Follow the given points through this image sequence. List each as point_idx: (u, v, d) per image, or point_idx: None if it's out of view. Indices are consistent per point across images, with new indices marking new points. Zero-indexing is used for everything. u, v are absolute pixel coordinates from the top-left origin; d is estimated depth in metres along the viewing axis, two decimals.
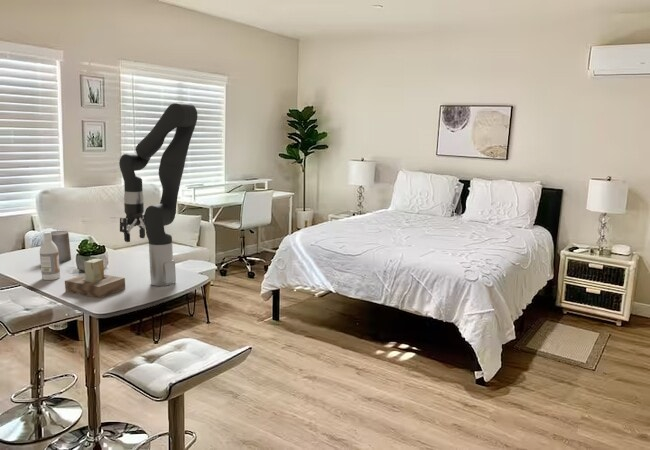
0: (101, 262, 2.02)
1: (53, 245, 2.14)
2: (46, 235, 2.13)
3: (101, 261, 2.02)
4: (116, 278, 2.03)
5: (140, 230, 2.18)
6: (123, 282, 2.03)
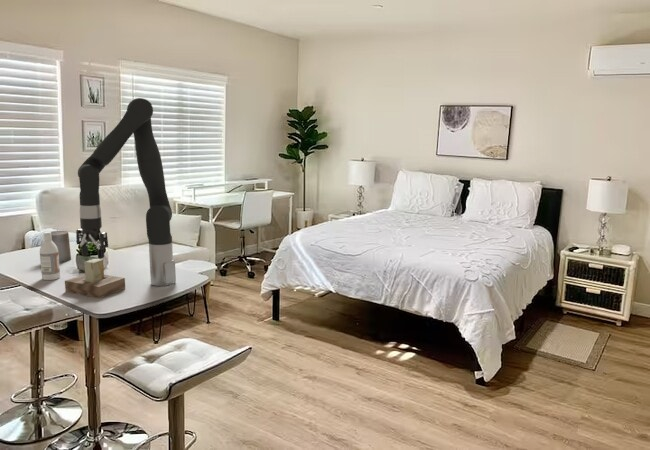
0: (101, 262, 2.02)
1: (53, 245, 2.14)
2: (46, 235, 2.13)
3: (101, 261, 2.02)
4: (116, 278, 2.03)
5: (83, 247, 2.01)
6: (123, 282, 2.03)
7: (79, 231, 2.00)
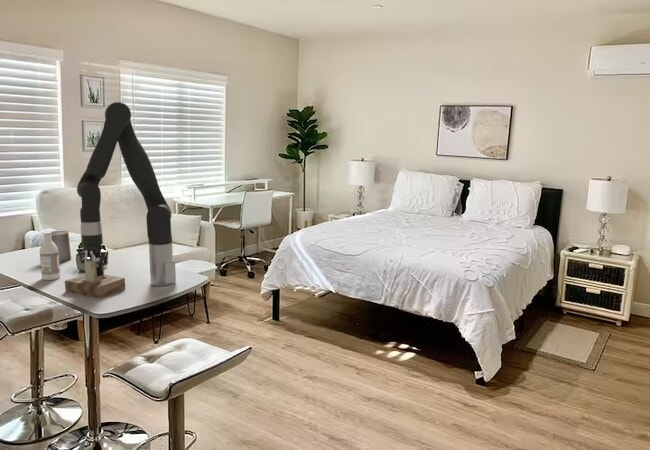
0: None
1: (53, 245, 2.14)
2: (46, 235, 2.13)
3: None
4: (116, 278, 2.03)
5: None
6: (123, 282, 2.03)
7: (81, 249, 2.01)
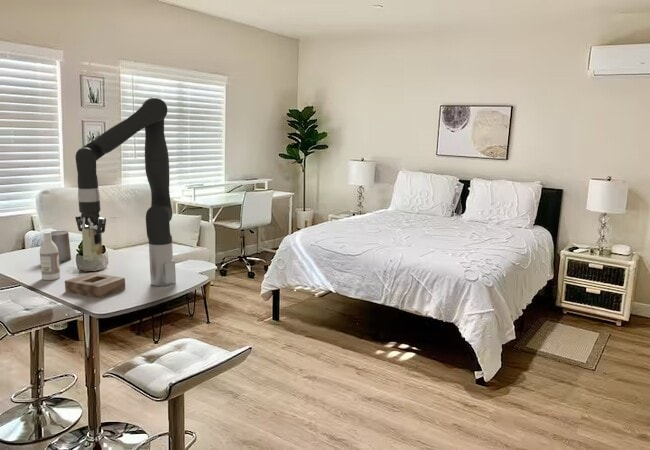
0: None
1: (53, 245, 2.14)
2: (46, 235, 2.13)
3: None
4: (116, 278, 2.03)
5: None
6: (123, 282, 2.03)
7: (78, 217, 1.99)
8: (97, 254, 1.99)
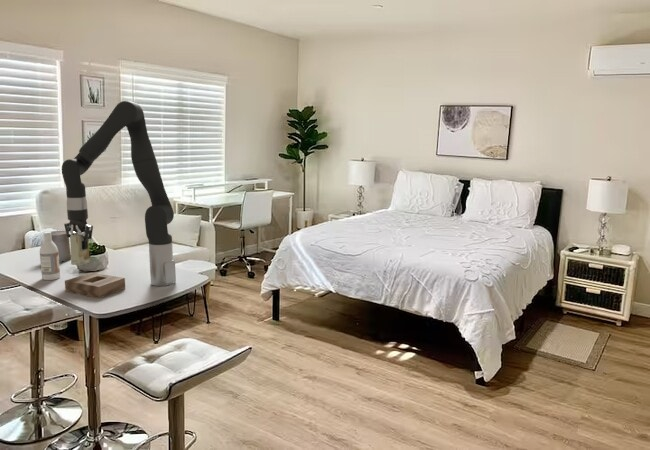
0: None
1: (53, 245, 2.14)
2: (46, 235, 2.13)
3: None
4: (116, 278, 2.03)
5: None
6: (123, 282, 2.03)
7: (67, 224, 2.10)
8: (84, 259, 2.11)
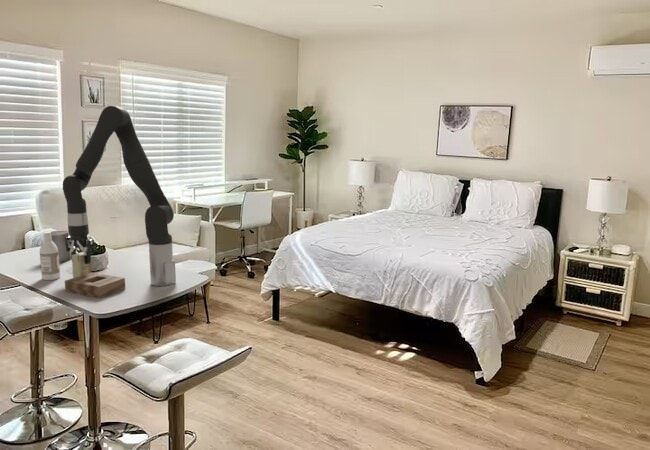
0: None
1: (53, 245, 2.14)
2: (46, 235, 2.13)
3: None
4: (116, 278, 2.03)
5: None
6: (123, 282, 2.03)
7: (67, 238, 2.12)
8: None
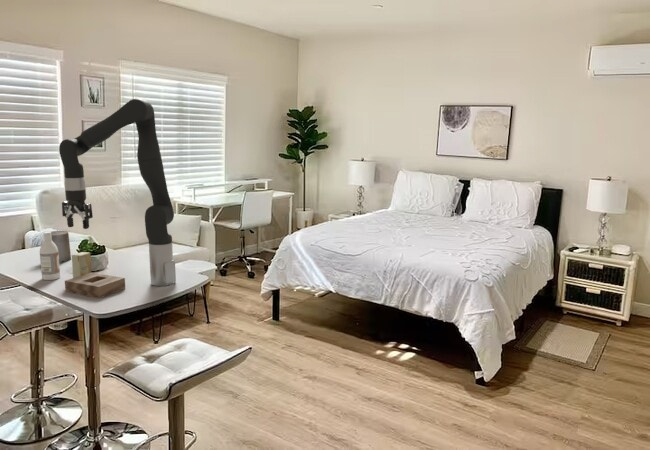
0: (88, 255, 2.12)
1: (53, 245, 2.14)
2: (46, 235, 2.13)
3: (88, 254, 2.12)
4: (116, 278, 2.03)
5: (69, 219, 2.10)
6: (123, 282, 2.03)
7: (65, 203, 2.10)
8: None
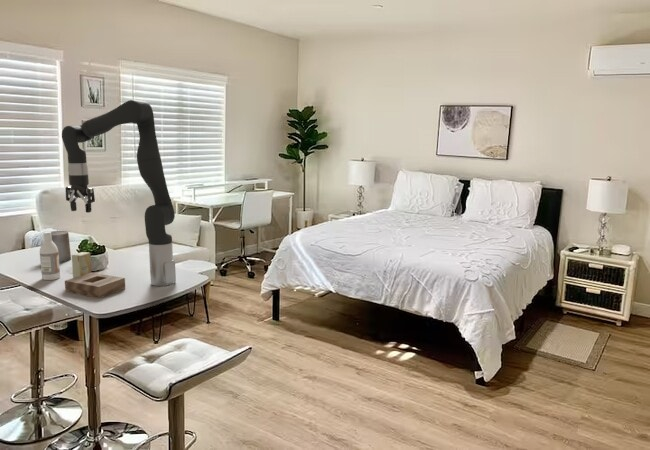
0: (88, 255, 2.12)
1: (53, 245, 2.14)
2: (46, 235, 2.13)
3: (88, 254, 2.12)
4: (116, 278, 2.03)
5: (72, 203, 2.19)
6: (123, 282, 2.03)
7: (68, 188, 2.18)
8: None
